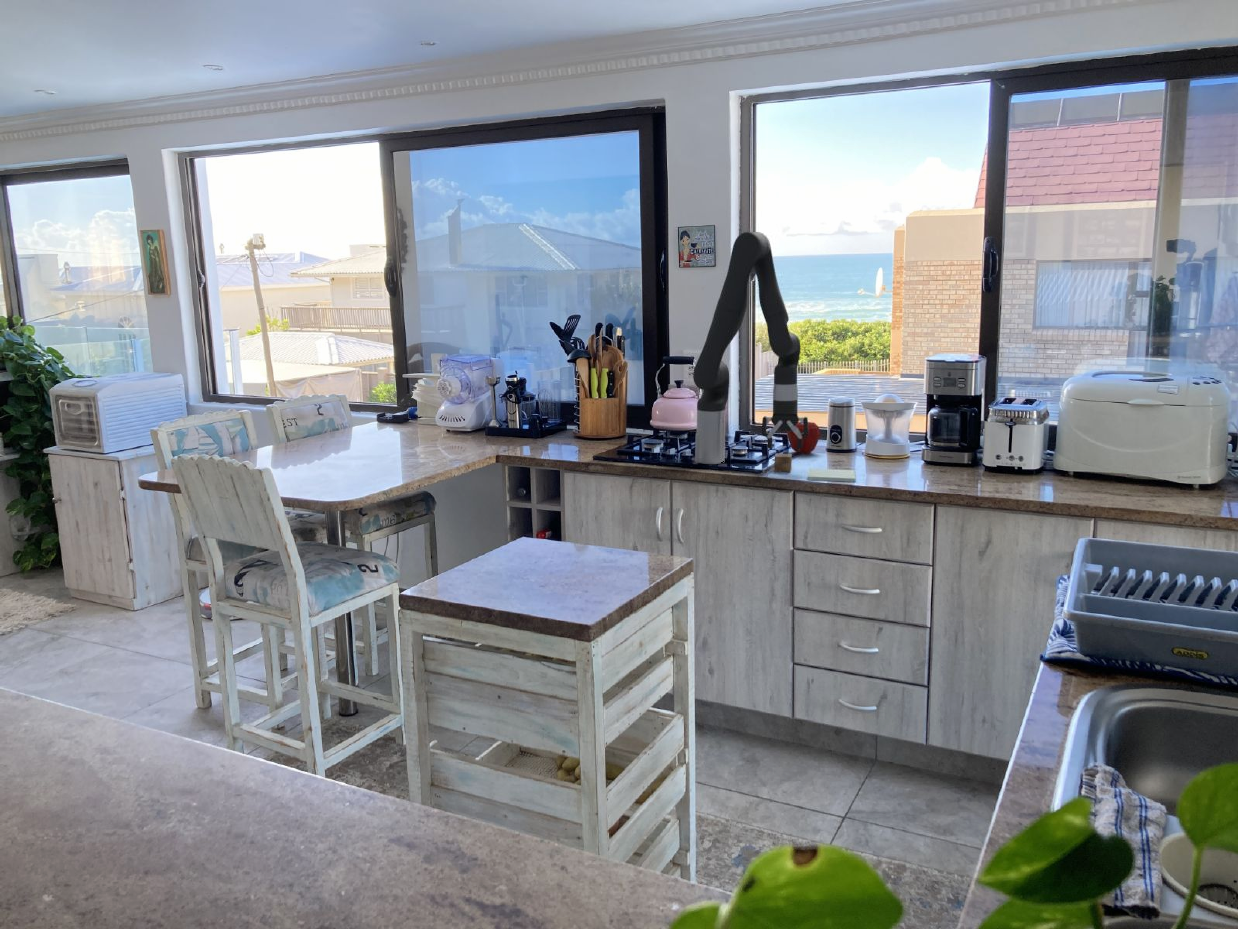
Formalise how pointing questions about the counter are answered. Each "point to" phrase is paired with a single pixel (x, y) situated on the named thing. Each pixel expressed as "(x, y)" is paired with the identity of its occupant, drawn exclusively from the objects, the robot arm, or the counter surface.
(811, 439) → the apple
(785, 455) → the walnut cube
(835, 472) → the sage board
